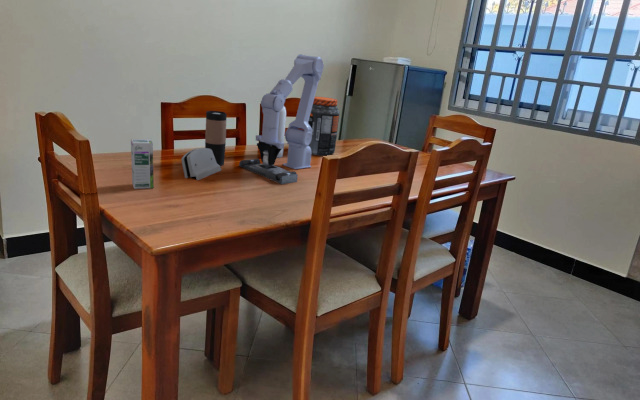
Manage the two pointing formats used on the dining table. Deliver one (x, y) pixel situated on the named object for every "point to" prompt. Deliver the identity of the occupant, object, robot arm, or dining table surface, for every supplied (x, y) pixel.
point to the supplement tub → (323, 126)
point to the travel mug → (216, 134)
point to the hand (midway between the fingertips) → (267, 163)
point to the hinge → (199, 163)
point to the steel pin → (266, 160)
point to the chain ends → (269, 171)
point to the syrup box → (142, 163)
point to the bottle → (281, 128)
